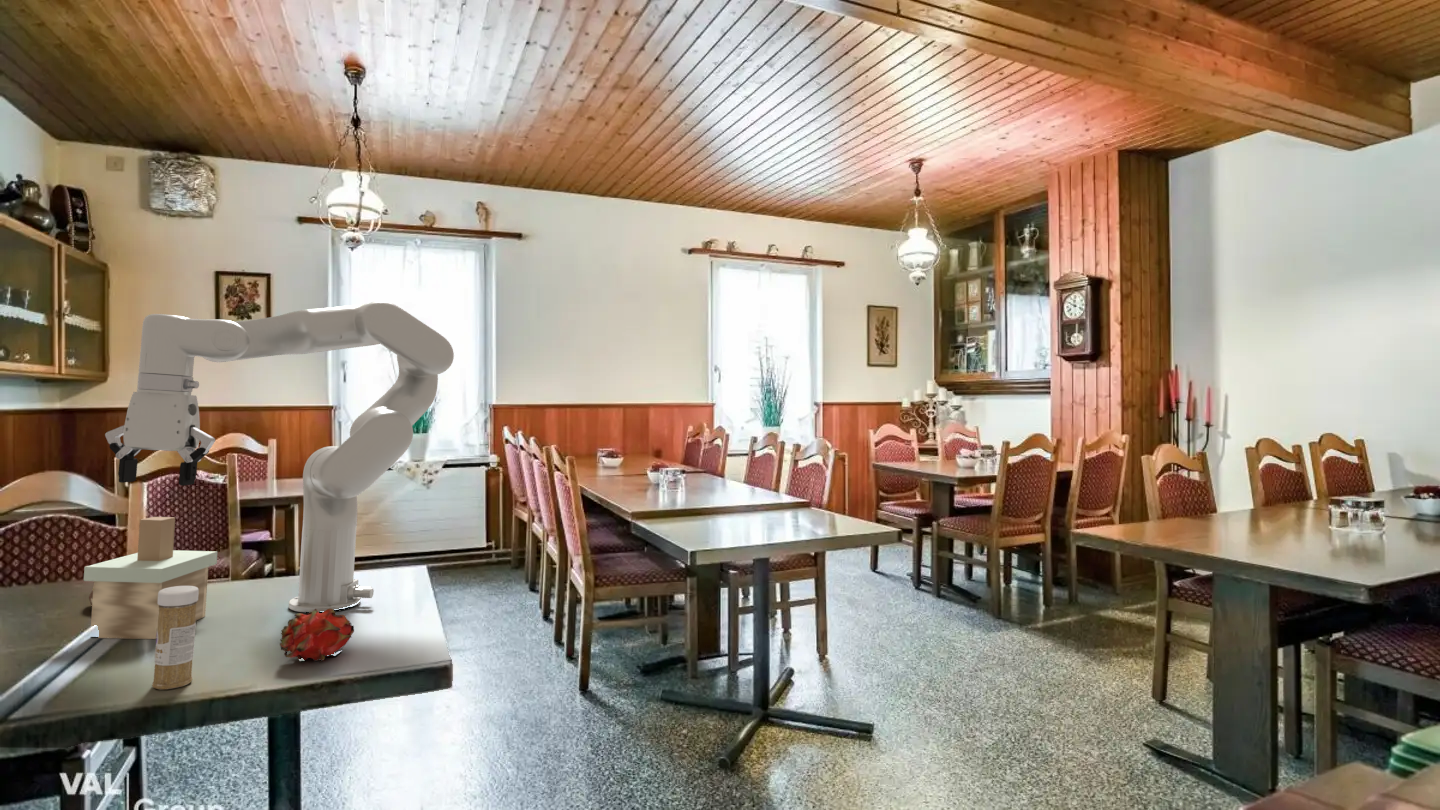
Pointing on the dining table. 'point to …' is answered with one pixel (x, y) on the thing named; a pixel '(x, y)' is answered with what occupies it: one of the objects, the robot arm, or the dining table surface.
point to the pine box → (138, 605)
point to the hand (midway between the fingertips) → (157, 483)
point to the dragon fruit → (315, 634)
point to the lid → (152, 557)
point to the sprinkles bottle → (175, 636)
